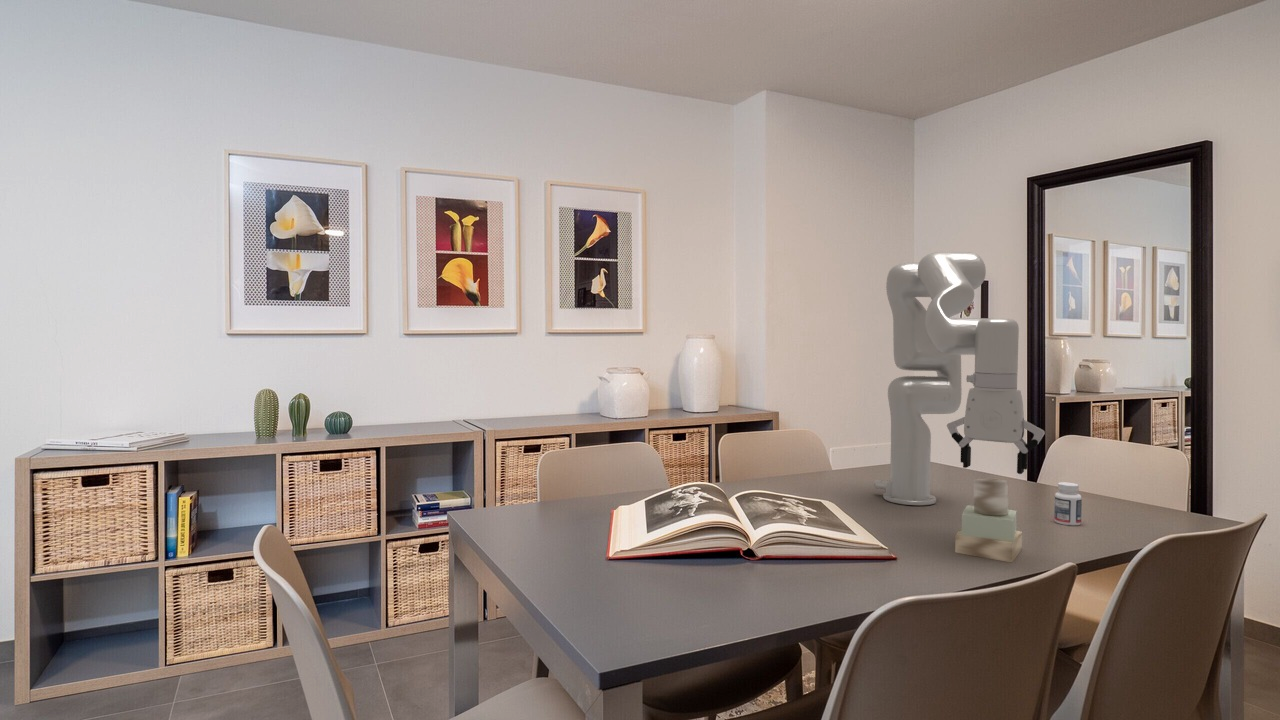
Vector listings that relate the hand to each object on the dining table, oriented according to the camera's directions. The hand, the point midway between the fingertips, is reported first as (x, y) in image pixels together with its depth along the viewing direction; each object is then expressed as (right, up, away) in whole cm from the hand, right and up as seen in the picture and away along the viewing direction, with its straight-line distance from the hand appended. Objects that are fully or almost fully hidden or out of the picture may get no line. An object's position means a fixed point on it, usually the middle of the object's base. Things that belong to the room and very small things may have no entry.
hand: (993, 469), depth 143 cm
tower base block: (-1, -16, +1) cm, 16 cm away
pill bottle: (+28, -16, +22) cm, 39 cm away
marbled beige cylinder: (0, -8, 0) cm, 8 cm away
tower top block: (-1, -12, 0) cm, 12 cm away
